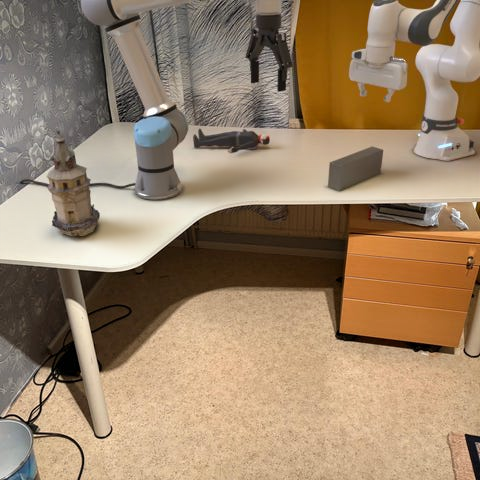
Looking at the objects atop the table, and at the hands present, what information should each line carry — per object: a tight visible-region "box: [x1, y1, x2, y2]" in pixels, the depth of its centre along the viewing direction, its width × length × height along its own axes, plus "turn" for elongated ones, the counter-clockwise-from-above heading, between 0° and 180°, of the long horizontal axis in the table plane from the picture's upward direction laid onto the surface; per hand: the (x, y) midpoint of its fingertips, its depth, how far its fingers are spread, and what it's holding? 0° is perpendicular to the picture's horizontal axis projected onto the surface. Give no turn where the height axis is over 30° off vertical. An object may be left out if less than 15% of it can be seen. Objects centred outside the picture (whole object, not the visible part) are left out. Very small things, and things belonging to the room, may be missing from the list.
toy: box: [192, 128, 271, 155], centre depth 214 cm, size 26×6×30 cm
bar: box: [327, 145, 384, 192], centre depth 182 cm, size 23×5×9 cm, turn 131°
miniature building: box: [46, 129, 101, 237], centre depth 148 cm, size 13×14×30 cm
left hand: (267, 86), depth 167 cm, fingers open, 13 cm apart
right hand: (374, 98), depth 175 cm, fingers open, 8 cm apart
